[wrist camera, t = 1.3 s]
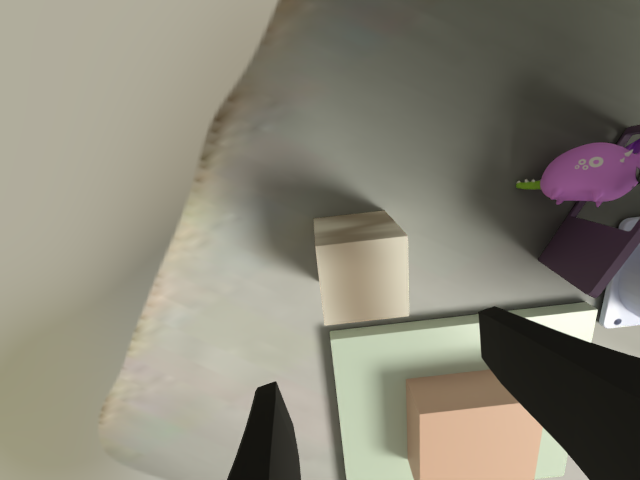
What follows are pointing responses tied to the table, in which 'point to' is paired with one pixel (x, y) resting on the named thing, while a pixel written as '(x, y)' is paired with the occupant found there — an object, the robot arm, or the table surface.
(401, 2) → the table surface
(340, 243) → the top brick
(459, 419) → the base brick
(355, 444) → the base plate
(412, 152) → the table surface
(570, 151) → the purple and pink piece
